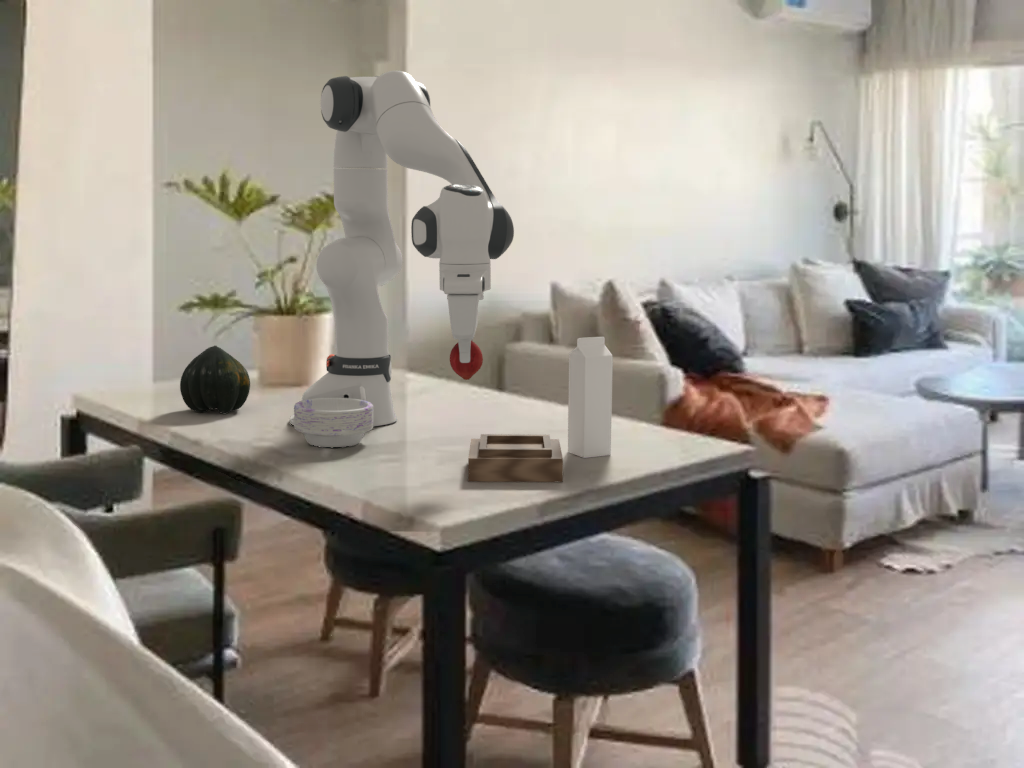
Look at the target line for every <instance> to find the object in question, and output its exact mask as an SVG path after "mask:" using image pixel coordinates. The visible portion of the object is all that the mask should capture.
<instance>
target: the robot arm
mask: <svg viewBox="0 0 1024 768" xmlns="http://www.w3.org/2000/svg"><path fill="white" fill-rule="evenodd" d="M319 102H320V103H319V104H320V113H321V116H322V119H323V121H324V123H325V124H326V126H327V127H329V128H330V129H333V130H335V131H336V135H335V139H334V151H333V152H334V153H333V205H334V208H335V210H336V212H337V214H338V215H339V217H340V219H341V223H342V228H343V231H344V237H340V238H338V239H336V240H334V241H332V242H330V243H328V244H327V245H325V246H324V247H323V248H322V249H321V250H320V252H319V253H318V256H317V259H316V271H317V274H318V278H319V279H320V280H321V281H322V283H323V284H324V285H325V288H326V290H327V292H328V295H329V299H330V302H331V306H332V311H333V317H334V329H335V354H333V353H331V354H328V356H327V357H326V364H325V365H326V372H327V373H325V374H324V375H323V376H322V377H320V378H319V379H318V380H316V381H315V382H314V383H313V384H311V385H310V386H309V387H308V388H307V389H305V391H304V393H303V394H302V397H301V400H300V401H303V400H308V399H315V398H351V399H359V400H364V401H367V402H370V403H372V405H373V427H379V426H384V425H389V424H393V423H395V422H396V421H398V418H397V415H396V411H395V407H394V403H393V402H394V401H393V396H392V389H391V381H392V374H393V373H392V369H393V368H392V360H391V358H392V357H391V354H390V352H389V351H390V350H389V349H390V348H389V345H390V344H389V343H390V342H389V318H388V315H387V314H386V312H385V311H384V309H383V307H382V304H381V303H382V302H381V300H380V295H379V289H378V288H379V287H382V286H384V285H387V284H388V283H390V282H391V281H393V280H394V279H395V278H396V277H397V276H399V274H400V272H401V270H402V267H403V263H404V261H403V259H404V258H403V254H402V251H401V249H400V246H398V244H397V242H396V239H395V235H394V231H393V227H392V221H391V217H390V212H389V211H390V209H389V192H388V191H389V185H388V184H389V183H388V181H389V179H388V178H389V173H388V169H389V166H388V165H389V164H388V158H390V160H391V161H393V162H394V163H396V164H397V165H399V166H401V167H403V168H406V169H410V170H414V171H418V172H423V173H427V174H430V175H433V176H436V177H439V178H441V179H443V180H446V181H447V182H448V183H450V184H449V185H446V186H443V187H442V188H441V190H440V193H439V197H438V198H437V199H436V200H434V202H432V203H430V204H428V205H423V206H422V207H421V208H420V209H419V210H417V212H416V213H415V214H414V216H413V218H412V220H411V225H410V226H411V227H410V228H411V232H410V233H411V242H412V245H413V247H414V248H415V250H417V252H418V253H419V254H421V256H423V257H424V258H429V259H439V263H438V264H439V265H438V266H439V269H438V270H439V290H440V291H442V292H443V294H445V295H446V300H447V303H448V313H449V322H450V331H451V335H452V338H453V340H457V341H458V342H457V343H458V344H459V352H460V362H461V363H469V362H470V349H471V341H473V339H475V336H476V332H477V328H478V325H479V314H478V313H479V302H480V301H482V300H484V292H485V293H486V292H487V291H491V289H492V287H491V285H492V284H491V282H492V281H491V280H492V279H491V277H492V276H491V260H498V258H500V257H501V256H503V254H504V253H505V252H507V250H508V248H509V247H510V246H511V245H512V243H513V241H514V235H515V229H514V228H515V227H514V223H513V220H512V216H511V215H510V213H509V212H508V211H507V209H506V208H505V207H504V206H503V204H501V202H500V201H499V200H498V198H496V197H495V195H494V193H493V191H492V189H491V188H490V186H489V185H488V183H487V181H486V180H485V178H484V176H483V175H482V173H481V171H480V169H479V168H478V166H477V164H476V163H475V162H474V159H473V158H472V156H471V155H470V153H469V151H468V150H467V149H466V147H465V146H464V145H463V143H461V142H460V141H459V140H458V139H456V138H454V137H453V136H452V135H450V134H449V133H448V132H447V130H445V129H444V127H442V126H441V124H440V123H439V122H438V120H437V118H436V117H435V115H434V114H433V110H432V108H431V98H430V94H429V92H428V90H427V88H426V86H425V85H424V84H423V83H421V82H419V81H417V80H416V79H415V78H414V77H413V76H412V75H411V74H409V73H407V72H406V71H402V70H397V69H396V70H389V71H386V72H384V73H382V74H380V75H376V76H354V77H353V76H352V77H349V76H347V75H342V76H337V77H333V78H330V79H329V80H328V81H327V82H326V83H325V84H324V85H323V87H322V90H321V94H320V101H319ZM473 342H474V341H473ZM289 422H290V423H291V424H293V425H294V413H293V414H291V415H290V417H289ZM290 423H289V424H290ZM291 424H290V425H291Z"/></svg>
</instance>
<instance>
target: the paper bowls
mask: <svg viewBox="0 0 1024 768" xmlns="http://www.w3.org/2000/svg"><path fill="white" fill-rule="evenodd" d="M293 412H294V413H293V414H294V426H293V428H294V430H295V431H297V432H299V433H302V434H303V436H304V438H305V440H306V442H307V443H308V444H309V445H311V446H313V445H314V447H317V446H320V447H319V448H323V447H342V448H347V447H346V446H349V447H352V446H351V445H353V446H355V444H356V445H358V444H359V443H360V442H361V441H362V439H363V437H364V435H365V433H367V432H369V431H372V430H373V428H374V426H373V405H372V403H370V402H367V401H364V400H359V399H351V398H315V399H308V400H303V401H301V400H300V401H297V402H295V404H294V406H293Z"/></svg>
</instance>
